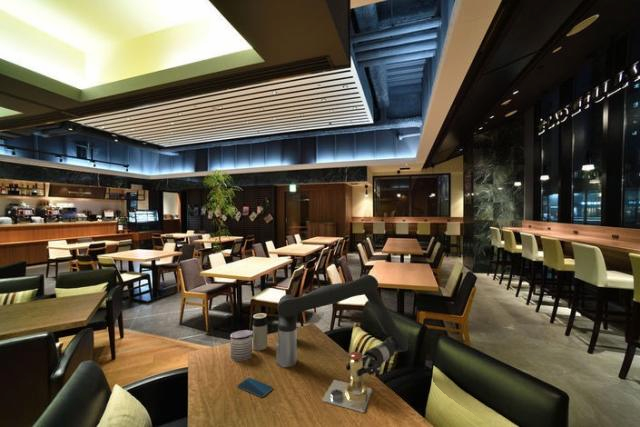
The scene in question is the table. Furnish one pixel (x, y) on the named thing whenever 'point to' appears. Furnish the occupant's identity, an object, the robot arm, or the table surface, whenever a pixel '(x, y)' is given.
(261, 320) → the travel mug
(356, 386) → the brass valve
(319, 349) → the table surface
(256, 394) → the smartphone
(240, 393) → the table surface
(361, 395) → the fitting plate
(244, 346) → the can
